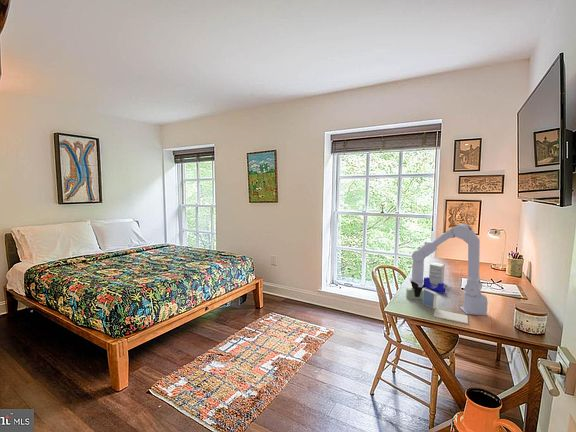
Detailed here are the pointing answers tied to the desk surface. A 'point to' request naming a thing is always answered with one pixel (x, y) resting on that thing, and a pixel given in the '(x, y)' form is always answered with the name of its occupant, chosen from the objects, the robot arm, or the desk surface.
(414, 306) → the desk surface
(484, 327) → the desk surface
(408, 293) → the block
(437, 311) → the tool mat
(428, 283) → the cable clip
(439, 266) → the supplement box
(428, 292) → the tile
